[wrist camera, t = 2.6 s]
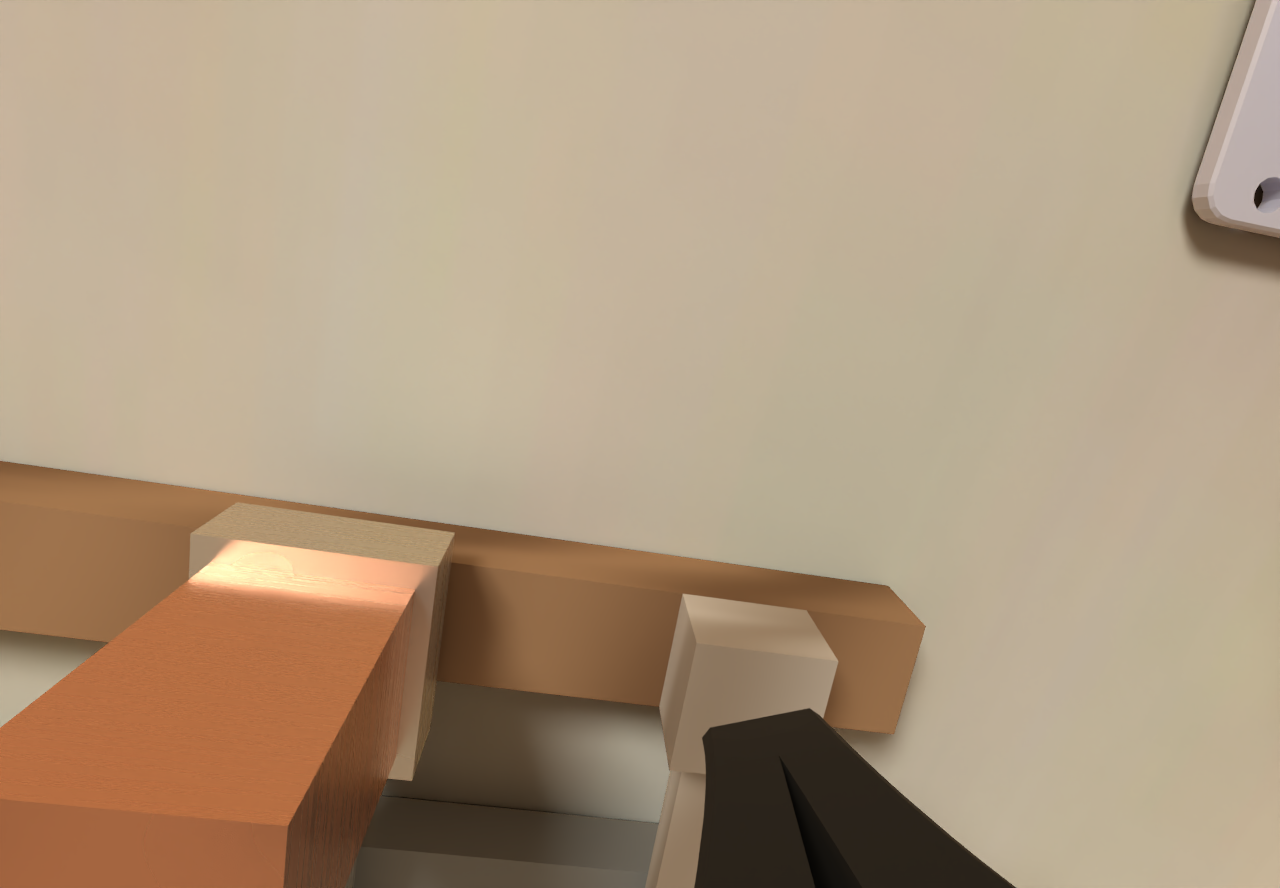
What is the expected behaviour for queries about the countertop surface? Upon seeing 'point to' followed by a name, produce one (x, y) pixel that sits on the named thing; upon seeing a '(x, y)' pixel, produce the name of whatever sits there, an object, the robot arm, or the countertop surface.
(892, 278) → the countertop surface
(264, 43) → the countertop surface
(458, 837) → the bolt plate
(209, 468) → the countertop surface
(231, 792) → the orange handled lever
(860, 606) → the rail
